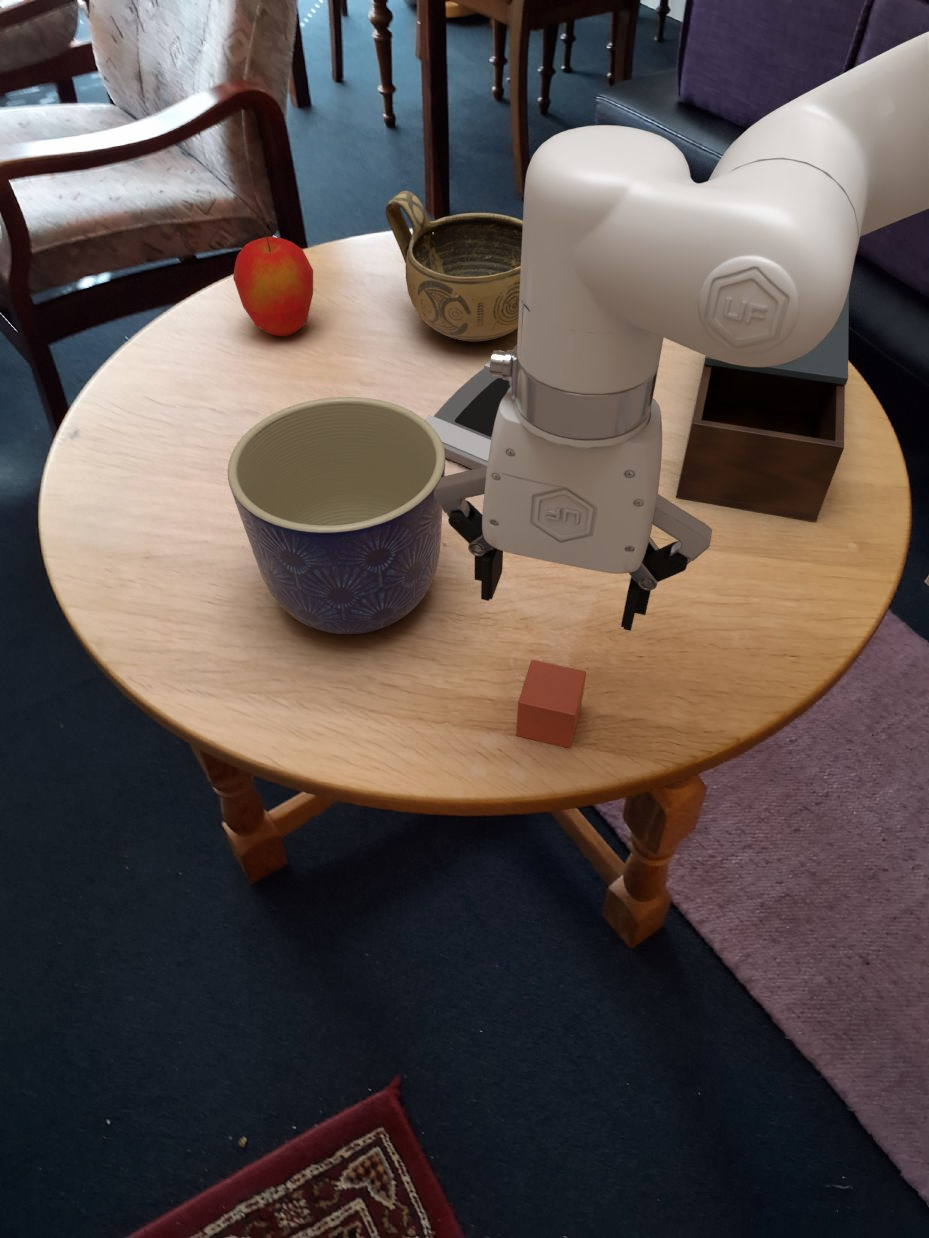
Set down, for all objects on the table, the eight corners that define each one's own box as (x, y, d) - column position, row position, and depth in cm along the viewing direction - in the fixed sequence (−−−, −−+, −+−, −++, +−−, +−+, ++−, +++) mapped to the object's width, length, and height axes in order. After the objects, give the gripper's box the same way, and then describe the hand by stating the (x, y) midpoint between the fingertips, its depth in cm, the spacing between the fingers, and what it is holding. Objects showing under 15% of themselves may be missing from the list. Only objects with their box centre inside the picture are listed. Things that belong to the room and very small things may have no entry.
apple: (239, 350, 109) (218, 254, 100) (253, 312, 115) (234, 218, 106) (315, 350, 109) (301, 254, 100) (325, 312, 115) (312, 219, 106)
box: (820, 419, 98) (845, 346, 92) (815, 522, 87) (844, 447, 80) (695, 400, 101) (711, 327, 94) (675, 497, 90) (691, 423, 83)
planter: (377, 506, 89) (363, 372, 78) (487, 601, 80) (489, 466, 69) (226, 584, 82) (187, 449, 71) (329, 697, 73) (303, 564, 62)
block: (581, 705, 73) (586, 671, 69) (570, 748, 70) (575, 715, 66) (528, 693, 73) (531, 658, 70) (515, 735, 71) (517, 702, 67)
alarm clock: (633, 398, 95) (555, 468, 86) (626, 436, 99) (550, 507, 89) (499, 350, 102) (413, 409, 92) (497, 386, 105) (413, 447, 96)
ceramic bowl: (582, 314, 114) (594, 194, 103) (535, 383, 104) (542, 258, 92) (424, 281, 120) (419, 164, 109) (364, 343, 110) (352, 221, 98)
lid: (846, 298, 98) (858, 261, 95) (845, 385, 87) (859, 347, 84) (720, 281, 101) (728, 246, 98) (703, 364, 89) (712, 327, 86)
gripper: (411, 398, 48) (422, 613, 61) (740, 454, 45) (679, 669, 57) (451, 327, 53) (454, 540, 65) (751, 373, 49) (692, 588, 62)
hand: (559, 600), depth 61 cm, fingers open, 9 cm apart
